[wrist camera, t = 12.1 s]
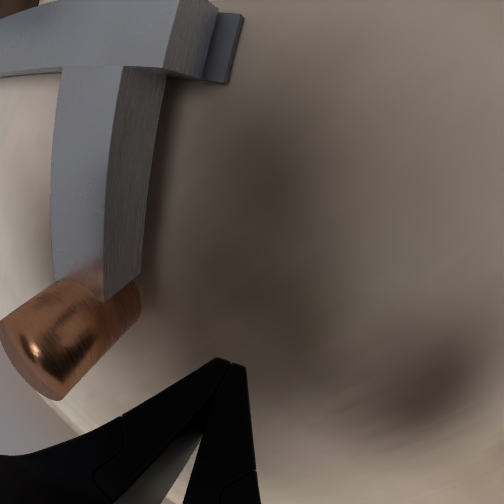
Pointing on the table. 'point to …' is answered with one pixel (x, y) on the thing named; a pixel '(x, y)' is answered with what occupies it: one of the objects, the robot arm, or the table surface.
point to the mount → (219, 53)
